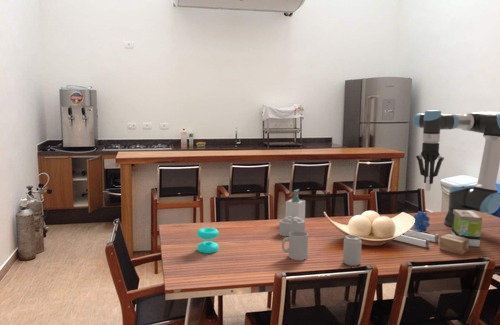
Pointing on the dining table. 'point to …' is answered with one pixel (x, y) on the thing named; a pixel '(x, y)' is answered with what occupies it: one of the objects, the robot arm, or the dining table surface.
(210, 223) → the dining table surface
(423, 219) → the grapes
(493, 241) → the dining table surface
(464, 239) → the block
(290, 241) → the mug
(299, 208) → the soap bottle
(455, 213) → the tea box
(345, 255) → the can
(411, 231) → the white parallel rail frame
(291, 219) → the lumpy-topped squat cylinder
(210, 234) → the donuts
